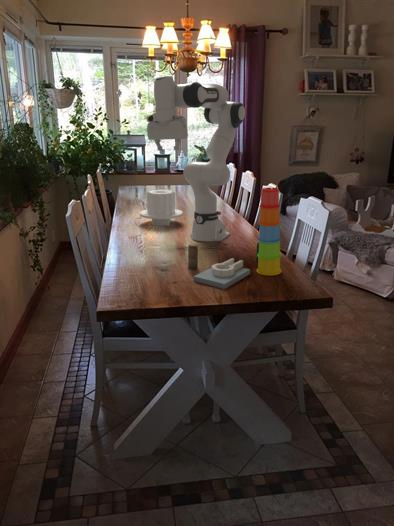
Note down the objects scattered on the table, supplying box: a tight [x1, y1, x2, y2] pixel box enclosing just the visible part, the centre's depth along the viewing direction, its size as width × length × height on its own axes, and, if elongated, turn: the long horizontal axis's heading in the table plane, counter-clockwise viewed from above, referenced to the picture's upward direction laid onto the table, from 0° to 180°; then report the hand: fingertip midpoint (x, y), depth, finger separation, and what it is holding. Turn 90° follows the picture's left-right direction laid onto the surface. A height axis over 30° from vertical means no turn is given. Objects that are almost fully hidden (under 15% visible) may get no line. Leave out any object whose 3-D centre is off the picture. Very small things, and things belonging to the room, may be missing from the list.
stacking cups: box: [256, 187, 282, 277], centre depth 176 cm, size 10×10×35 cm
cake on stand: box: [139, 189, 183, 227], centre depth 256 cm, size 25×25×19 cm
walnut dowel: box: [187, 243, 199, 271], centre depth 184 cm, size 4×4×10 cm
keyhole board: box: [193, 257, 251, 290], centre depth 175 cm, size 22×14×4 cm, turn 145°
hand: (168, 150), depth 189 cm, fingers open, 8 cm apart
